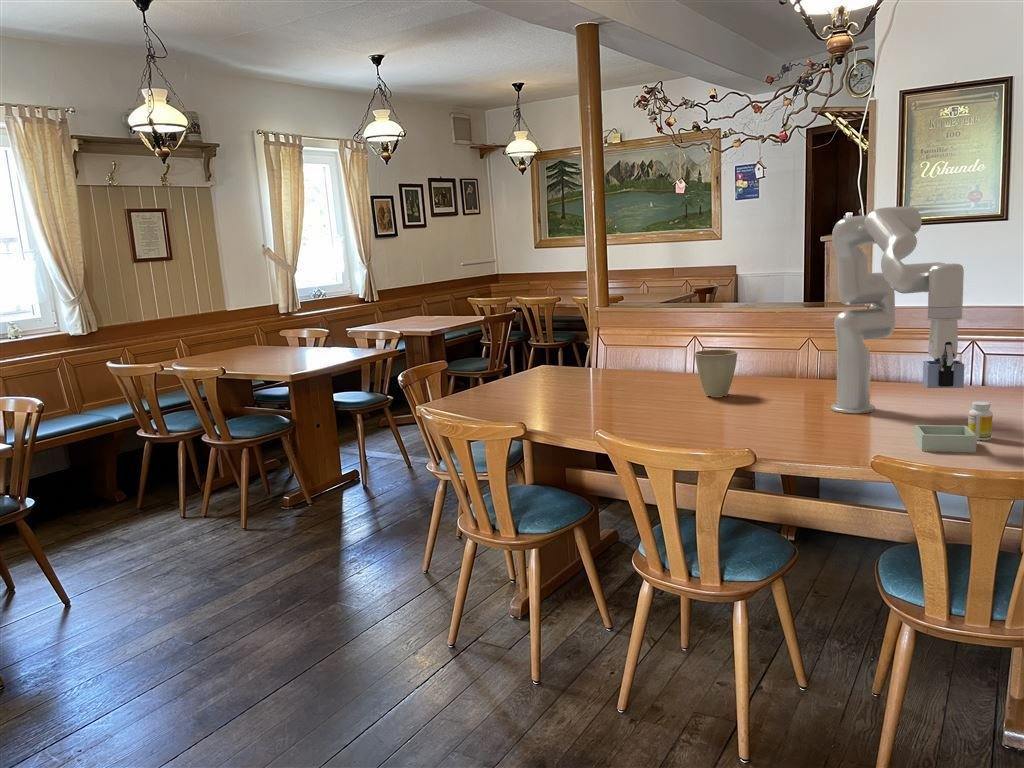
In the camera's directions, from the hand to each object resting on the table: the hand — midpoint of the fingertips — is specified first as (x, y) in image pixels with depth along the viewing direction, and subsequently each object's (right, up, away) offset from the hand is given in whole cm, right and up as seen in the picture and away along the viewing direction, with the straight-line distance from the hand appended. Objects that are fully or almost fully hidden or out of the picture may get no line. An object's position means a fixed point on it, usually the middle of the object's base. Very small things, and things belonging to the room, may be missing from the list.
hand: (942, 383), depth 189 cm
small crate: (0, -1, 0) cm, 1 cm away
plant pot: (-36, -5, +79) cm, 87 cm away
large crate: (+1, -17, +2) cm, 17 cm away
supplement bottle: (+13, -15, +6) cm, 21 cm away
